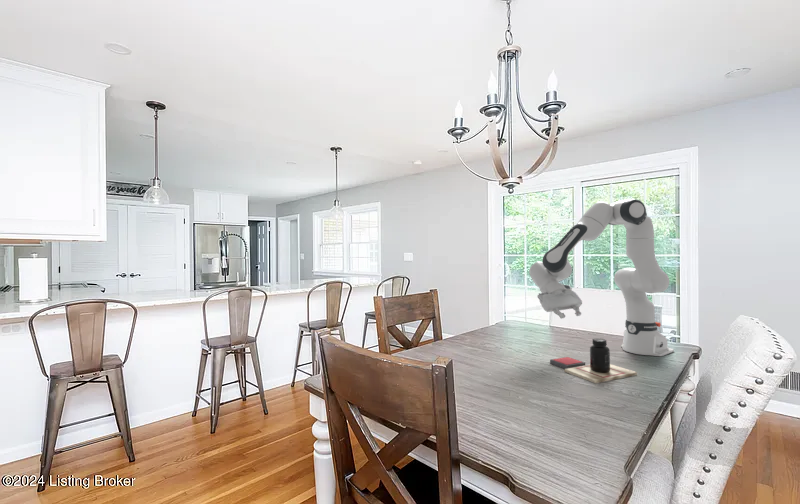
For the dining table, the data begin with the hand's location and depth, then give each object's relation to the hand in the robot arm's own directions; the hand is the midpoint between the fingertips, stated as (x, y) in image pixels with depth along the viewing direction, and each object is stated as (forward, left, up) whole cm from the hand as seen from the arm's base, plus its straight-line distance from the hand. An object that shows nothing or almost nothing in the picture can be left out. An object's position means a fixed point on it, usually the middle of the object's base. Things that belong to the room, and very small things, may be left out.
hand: (571, 316), depth 160 cm
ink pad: (+7, +4, -19) cm, 21 cm away
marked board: (+4, +17, -19) cm, 26 cm away
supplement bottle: (+4, +17, -18) cm, 25 cm away
